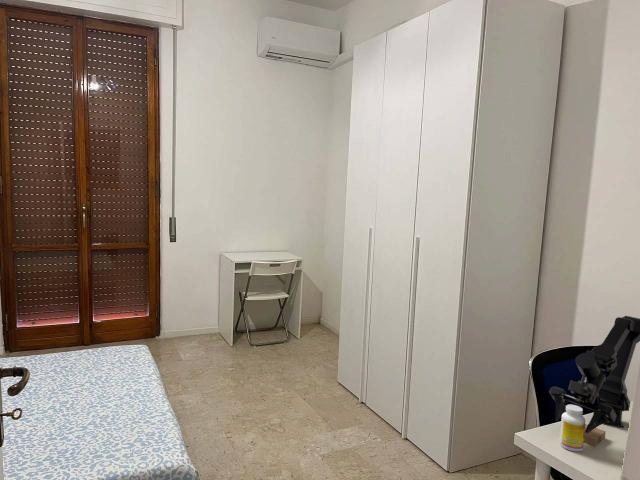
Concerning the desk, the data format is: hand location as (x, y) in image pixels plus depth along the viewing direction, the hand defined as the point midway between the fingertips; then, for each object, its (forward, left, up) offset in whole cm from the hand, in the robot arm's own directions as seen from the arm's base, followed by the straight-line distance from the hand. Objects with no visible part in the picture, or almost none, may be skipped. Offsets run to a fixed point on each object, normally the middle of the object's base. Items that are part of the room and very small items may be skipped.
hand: (570, 426), depth 145 cm
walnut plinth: (-10, +6, -7) cm, 14 cm away
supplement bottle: (-1, +1, -7) cm, 7 cm away
